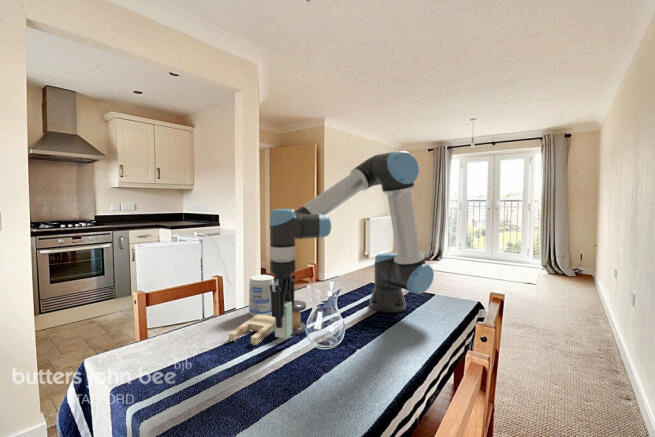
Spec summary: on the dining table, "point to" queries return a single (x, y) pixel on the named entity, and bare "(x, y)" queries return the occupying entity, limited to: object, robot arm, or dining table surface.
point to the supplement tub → (260, 294)
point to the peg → (287, 319)
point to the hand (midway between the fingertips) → (283, 333)
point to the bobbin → (297, 318)
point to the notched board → (255, 328)
